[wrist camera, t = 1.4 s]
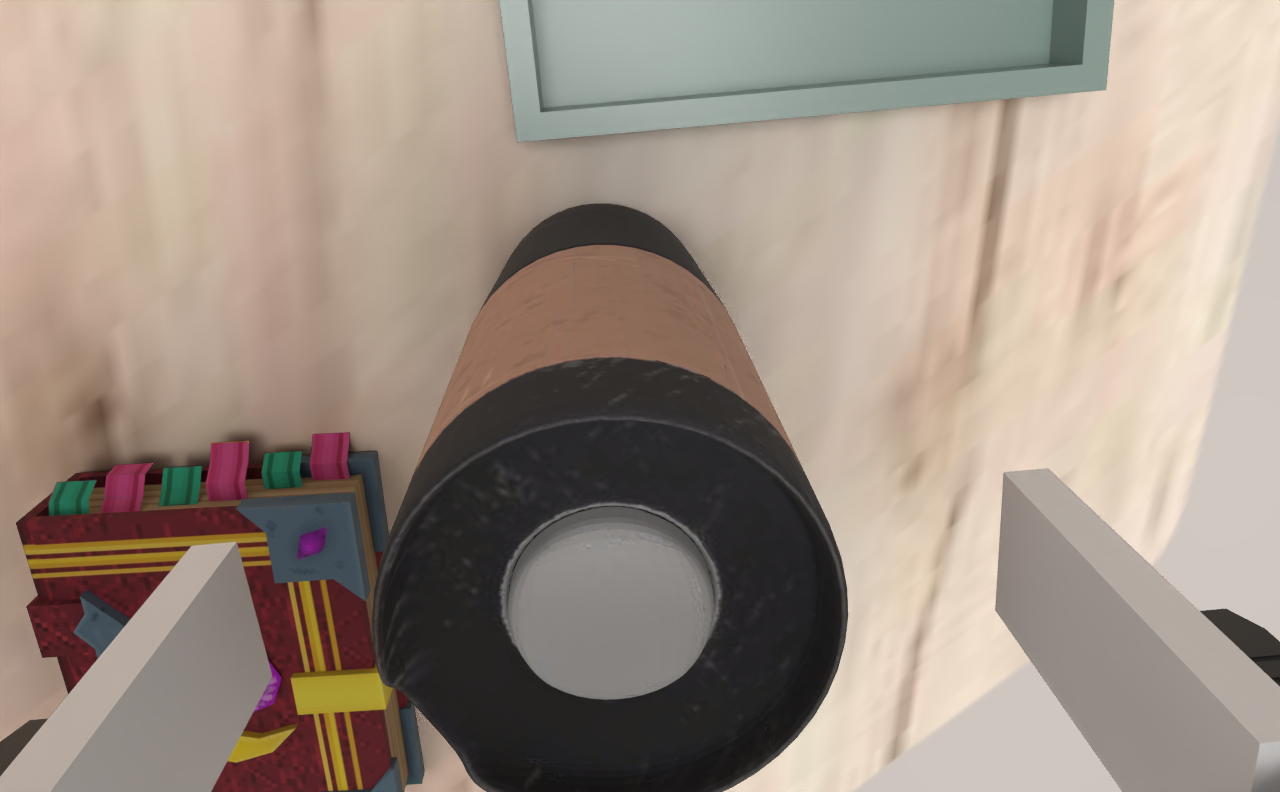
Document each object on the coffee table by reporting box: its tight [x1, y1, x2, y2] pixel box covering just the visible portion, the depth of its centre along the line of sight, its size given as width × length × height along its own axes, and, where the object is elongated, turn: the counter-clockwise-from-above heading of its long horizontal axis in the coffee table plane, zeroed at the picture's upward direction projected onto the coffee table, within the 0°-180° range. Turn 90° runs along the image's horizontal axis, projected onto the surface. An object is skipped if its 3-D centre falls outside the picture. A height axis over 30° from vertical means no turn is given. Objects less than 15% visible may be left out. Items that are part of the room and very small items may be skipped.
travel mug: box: [372, 204, 848, 792], centre depth 24 cm, size 8×8×20 cm
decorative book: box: [16, 432, 424, 792], centre depth 35 cm, size 11×16×5 cm
